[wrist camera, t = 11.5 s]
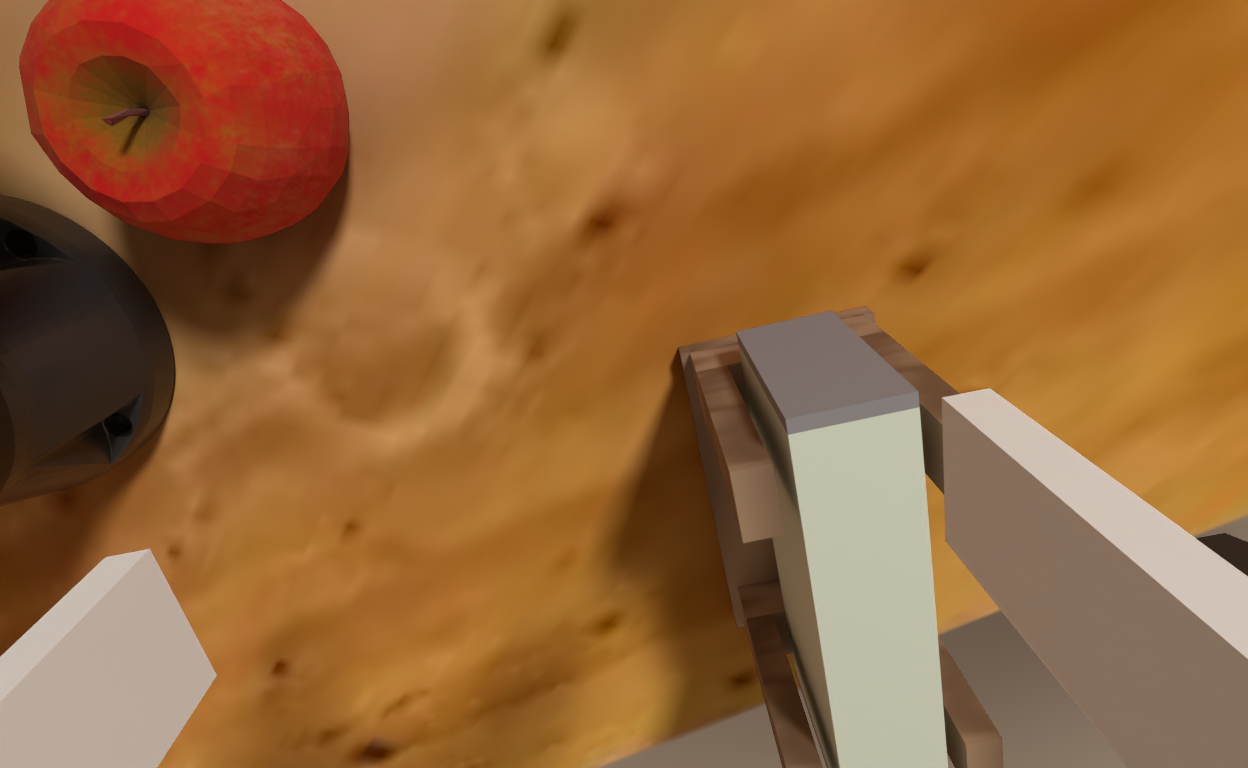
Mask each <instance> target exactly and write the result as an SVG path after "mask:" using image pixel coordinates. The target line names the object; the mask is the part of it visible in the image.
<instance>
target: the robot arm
mask: <svg viewBox="0 0 1248 768" xmlns="http://www.w3.org/2000/svg"><path fill="white" fill-rule="evenodd" d="M173 385H174V360H173V352H172V347H171V342H170V339H169V335H168V332H167V329H166V326H165V323H164V321H163V319H162V316H161V314H160V312H159V310H158V308H157V306H156V304H155V302H154V300H153V299H152V297H151V296H150V294H149V292H148V291H147V289H146V288H145V286H144V285H143V283H142V282H141V281H140V279H139V278H138V277H137V276H136V274H135V273H134V272H133V271H132V269H131V268H130V267H129V266H128V265H127V264H126V263H125V262H124V261H123V260H122V259H121V258H120V257H119V256H118V255H117V254H116V253H115V252H114V251H113V250H112V249H111V248H110V247H109V246H107V245H106V244H105V243H104V242H103V241H101V240H100V239H99V238H97V237H96V236H95V235H93V234H92V233H91V232H89V231H88V230H86V229H85V228H83V227H82V226H80V225H78V224H77V223H75V222H74V221H72V220H70V219H68V218H66V217H64V216H62V215H61V214H58V213H56V212H54V211H52V210H50V209H47V208H45V207H42V206H40V205H37V204H34V203H31V202H28V201H25V200H21V199H17V198H13V197H8V196H3V195H0V506H2V505H6V504H9V503H13V502H17V501H21V500H24V499H28V498H32V497H35V496H39V495H43V494H47V493H50V492H54V491H58V490H62V489H65V488H69V487H73V486H76V485H79V484H82V483H85V482H87V481H89V480H92V479H94V478H96V477H98V476H100V475H102V474H104V473H106V472H107V471H109V470H110V469H112V468H113V467H115V466H116V465H118V464H119V463H120V462H122V461H123V460H124V459H126V458H127V457H129V456H130V455H131V454H133V453H134V452H135V451H137V450H138V449H139V448H140V447H142V446H143V445H144V444H145V443H146V442H147V441H148V440H149V439H150V438H151V437H152V435H153V434H154V433H155V432H156V430H157V429H158V427H159V426H160V424H161V422H162V421H163V419H164V417H165V415H166V412H167V410H168V407H169V404H170V401H171V397H172V392H173ZM942 424H943V464H944V503H945V541H946V542H947V543H948V545H949V546H950V547H951V548H952V550H953V551H954V552H955V553H956V555H957V556H958V557H959V558H960V560H961V561H962V562H963V563H964V565H965V566H966V567H967V568H968V570H969V571H970V572H971V573H972V575H973V576H974V577H975V578H976V580H977V581H978V582H979V583H980V585H981V586H982V587H983V588H984V590H985V591H986V592H987V593H988V595H989V596H990V597H991V598H992V600H993V601H994V602H995V603H996V605H997V606H998V607H999V608H1000V610H1001V611H1002V612H1003V613H1004V615H1005V616H1006V617H1007V618H1008V619H1009V621H1010V622H1011V623H1012V625H1013V626H1014V627H1015V628H1016V630H1017V631H1018V632H1019V633H1020V635H1021V636H1022V637H1023V638H1024V640H1025V641H1026V642H1027V643H1028V644H1029V646H1030V647H1031V648H1032V650H1033V651H1034V652H1035V653H1036V655H1037V656H1038V657H1039V658H1040V660H1041V661H1042V662H1043V663H1044V665H1045V666H1046V667H1047V668H1048V670H1049V671H1050V672H1051V673H1052V675H1053V676H1054V677H1055V678H1056V680H1057V681H1058V682H1059V683H1060V685H1061V686H1062V687H1063V688H1064V690H1065V691H1066V692H1067V693H1068V694H1069V696H1070V697H1071V698H1072V699H1073V701H1074V702H1075V703H1076V705H1077V706H1078V707H1079V708H1080V710H1081V711H1082V712H1083V713H1084V715H1085V716H1086V717H1087V718H1088V719H1089V721H1090V722H1091V723H1092V724H1093V726H1094V727H1095V728H1096V729H1097V731H1098V732H1099V733H1100V735H1101V736H1102V737H1103V738H1104V740H1105V741H1106V742H1107V743H1108V745H1109V746H1110V747H1111V748H1112V749H1113V751H1114V752H1115V753H1116V754H1117V756H1118V757H1119V758H1120V760H1121V761H1122V762H1123V763H1124V765H1125V766H1126V767H1127V768H1248V542H1246V541H1243V540H1241V539H1238V538H1236V537H1233V536H1231V535H1228V534H1226V533H1223V534H1217V535H1212V536H1206V537H1201V538H1194V537H1193V536H1192V535H1190V534H1189V533H1188V532H1186V531H1185V530H1183V529H1182V528H1181V527H1179V526H1178V525H1177V524H1175V523H1174V522H1172V521H1171V520H1170V519H1168V518H1167V517H1166V516H1164V515H1163V514H1161V513H1160V512H1159V511H1157V510H1156V509H1155V508H1153V507H1152V506H1150V505H1149V504H1148V503H1146V502H1145V501H1144V500H1142V499H1141V498H1140V497H1138V496H1137V495H1135V494H1134V493H1133V492H1131V491H1130V490H1129V489H1127V488H1126V487H1124V486H1123V485H1122V484H1120V483H1119V482H1118V481H1116V480H1115V479H1113V478H1112V477H1111V476H1109V475H1108V474H1107V473H1105V472H1104V471H1102V470H1101V469H1100V468H1098V467H1097V466H1096V465H1094V464H1093V463H1092V462H1090V461H1089V460H1087V459H1086V458H1085V457H1083V456H1082V455H1081V454H1079V453H1078V452H1076V451H1075V450H1074V449H1072V448H1071V447H1070V446H1068V445H1067V444H1065V443H1064V442H1063V441H1061V440H1060V439H1059V438H1057V437H1056V436H1054V435H1053V434H1052V433H1050V432H1049V431H1048V430H1046V429H1045V428H1043V427H1042V426H1041V425H1039V424H1038V423H1037V422H1035V421H1034V420H1033V419H1031V418H1030V417H1028V416H1027V415H1026V414H1024V413H1023V412H1022V411H1020V410H1019V409H1017V408H1016V407H1015V406H1013V405H1012V404H1011V403H1009V402H1008V401H1006V400H1005V399H1004V398H1002V397H1001V396H1000V395H998V394H997V393H995V392H994V391H993V390H991V389H990V388H989V389H984V390H979V391H973V392H968V393H963V394H958V395H952V396H947V397H942ZM216 676H217V675H216V673H215V671H214V669H213V667H212V666H211V664H210V662H209V660H208V658H207V656H206V654H205V652H204V650H203V649H202V647H201V645H200V643H199V641H198V639H197V637H196V635H195V633H194V632H193V630H192V628H191V626H190V624H189V622H188V620H187V618H186V616H185V615H184V613H183V611H182V609H181V607H180V605H179V603H178V601H177V599H176V597H175V596H174V594H173V592H172V590H171V588H170V586H169V584H168V582H167V580H166V579H165V577H164V575H163V573H162V571H161V569H160V567H159V565H158V563H157V562H156V560H155V558H154V556H153V554H152V552H151V550H150V549H146V550H141V551H136V552H131V553H126V554H120V555H115V556H110V557H105V558H104V559H103V560H102V561H101V562H100V563H99V564H98V565H97V566H96V567H95V568H94V569H92V570H91V571H90V572H89V573H88V574H87V575H86V576H85V577H84V578H83V579H82V580H81V581H80V582H79V583H78V584H77V585H76V586H74V587H73V588H72V589H71V590H70V591H69V592H68V593H67V594H66V595H65V596H64V597H63V598H62V599H61V600H60V601H59V602H58V603H57V604H55V605H54V606H53V607H52V608H51V609H50V610H49V611H48V612H47V613H46V614H45V615H44V616H43V617H42V618H41V619H40V620H39V621H38V622H36V623H35V624H34V625H33V626H32V627H31V628H30V629H29V630H28V631H27V632H26V633H25V634H24V635H23V636H22V637H21V638H20V639H19V640H17V641H16V642H15V643H14V644H13V645H12V646H11V647H10V648H9V649H8V650H7V651H6V652H5V653H4V654H3V655H2V656H1V657H0V768H157V767H158V765H159V764H160V762H161V761H162V759H163V758H164V756H165V755H166V753H167V752H168V750H169V748H170V747H171V745H172V744H173V742H174V741H175V739H176V738H177V736H178V735H179V733H180V731H181V730H182V728H183V727H184V725H185V724H186V722H187V721H188V719H189V718H190V716H191V714H192V713H193V711H194V710H195V708H196V707H197V705H198V704H199V702H200V701H201V699H202V697H203V696H204V694H205V693H206V691H207V690H208V688H209V687H210V685H211V684H212V682H213V680H214V679H215V677H216Z"/></svg>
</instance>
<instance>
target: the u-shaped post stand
mask: <svg viewBox="0 0 1248 768" xmlns="http://www.w3.org/2000/svg"><path fill="white" fill-rule="evenodd" d="M834 314H835V315H837V316H838V317H839V318H840V319H841V320H842V321H843V322H844V323H845V324H846V325H847V326H848V327H850V328H851V329H852V330H853V331H854V332H855V333H856V334H857V335H858V336H859V337H860V338H861V339H862V340H864V341H865V342H866V343H867V344H868V345H869V346H870V347H871V348H872V349H873V350H874V351H875V352H877V353H878V354H879V355H880V356H881V357H882V358H883V359H884V360H885V361H886V362H887V363H888V364H889V365H891V366H892V367H893V368H894V369H895V370H896V371H897V372H898V373H899V374H900V375H901V376H902V377H904V378H905V379H906V380H907V381H908V382H909V383H910V384H911V385H912V386H913V387H914V388H915V389H916V390H918V394H919V406H920V419H921V431H922V444H923V457H924V469H925V473H926V474H927V475H928V477H929V478H930V479H931V480H932V481H933V482H934V483H935V485H936V486H937V487H938V488H939V489H940V490H941V492H942V493H943V494H944V464H943V424H942V397H947V396H952V395H958V394H959V393H958V392H957V391H956V390H955V389H953V388H952V387H951V386H950V385H948V384H947V383H946V382H945V381H944V380H942V379H941V378H940V377H939V376H938V375H936V374H935V373H934V372H933V371H931V370H930V369H929V368H928V367H927V366H925V365H924V364H923V363H922V362H921V361H919V360H918V359H917V358H916V357H915V356H913V355H912V354H911V353H910V352H908V351H907V350H906V349H905V348H904V347H902V346H901V345H900V344H899V343H898V342H896V341H895V340H894V339H893V338H891V337H890V336H889V335H888V334H887V333H885V332H884V331H883V330H882V329H881V328H879V327H878V326H877V325H876V324H875V320H874V312H872V311H871V310H870V309H868V308H867V307H866V306H865V307H861V308H856V309H852V310H847V311H843V312H838V313H834ZM679 353H680V358H681V363H682V368H683V372H684V377H685V382H686V387H687V392H688V396H689V401H690V406H691V411H692V416H693V420H694V425H695V430H696V435H697V440H698V444H699V449H700V454H701V459H702V464H703V468H704V473H705V478H706V483H707V488H708V492H709V497H710V502H711V507H712V512H713V517H714V521H715V526H716V531H717V536H718V541H719V545H720V550H721V555H722V560H723V565H724V569H725V574H726V579H727V584H728V589H729V593H730V598H731V603H732V608H733V613H734V617H735V621H736V625H737V628H742V627H746V631H747V635H748V638H749V642H750V646H751V650H752V654H753V657H754V661H755V665H756V669H757V672H758V676H759V680H760V684H761V688H762V691H763V695H764V699H765V703H766V707H767V710H768V714H769V718H770V722H771V725H772V729H773V733H774V736H775V741H776V744H777V748H778V752H779V756H780V759H781V763H782V767H783V768H823V767H822V764H821V761H820V758H819V755H818V752H817V749H816V746H815V743H814V740H813V737H812V733H811V730H810V728H809V724H808V721H807V718H806V715H805V712H804V709H803V706H802V703H801V699H800V696H799V693H798V690H797V687H796V684H795V681H794V678H793V675H792V672H791V669H790V666H789V662H788V659H787V656H786V654H790V653H792V648H791V642H790V636H789V631H788V625H787V619H786V614H785V608H784V602H783V597H782V591H781V585H780V579H779V574H778V568H777V562H776V557H775V551H774V545H773V539H772V537H777V536H782V535H784V532H783V526H782V520H781V514H780V508H779V502H778V496H777V490H776V484H775V478H774V472H773V466H772V462H771V460H770V458H769V456H768V453H767V451H766V449H765V447H764V445H763V443H762V440H761V438H760V436H759V434H758V432H757V429H756V427H755V425H754V423H753V421H752V419H751V414H750V408H749V402H748V397H747V391H746V385H745V380H744V374H743V368H742V362H741V357H740V351H739V345H738V340H737V335H733V336H729V337H724V338H720V339H715V340H711V341H706V342H702V343H697V344H693V345H688V346H683V347H679ZM938 646H939V659H940V671H941V684H942V697H943V709H944V722H945V734H946V747H947V753H948V755H949V757H950V759H951V761H952V763H953V765H954V767H955V768H1003V750H1002V737H1001V736H1000V734H999V732H998V731H997V729H996V728H995V726H994V725H993V723H992V721H991V720H990V718H989V716H988V715H987V714H986V711H985V710H984V708H983V707H982V705H981V703H980V702H979V700H978V699H977V697H976V695H975V694H974V692H973V691H972V689H971V687H970V686H969V685H968V682H967V681H966V679H965V678H964V676H963V674H962V673H961V671H960V670H959V668H958V667H957V665H956V663H955V662H954V660H953V658H952V657H951V655H950V654H949V652H948V651H947V649H946V647H945V646H944V644H943V642H942V641H941V639H940V637H939V636H938Z"/></svg>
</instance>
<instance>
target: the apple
mask: <svg viewBox="0 0 1248 768" xmlns="http://www.w3.org/2000/svg"><path fill="white" fill-rule="evenodd" d="M19 68H20V74H21V79H22V85H23V91H24V96H25V102H26V107H27V113H28V118H29V124H30V129H31V134H32V135H33V137H34V138H35V139H36V141H37V142H38V143H39V145H40V146H41V148H42V149H43V150H44V152H45V153H46V154H47V156H48V157H49V159H50V160H51V161H52V163H53V164H54V165H55V167H56V168H57V169H58V171H59V172H60V173H61V174H62V175H63V176H64V177H65V178H66V179H67V180H68V181H69V182H71V183H72V184H73V185H74V186H75V187H76V188H77V189H78V190H79V191H80V192H81V193H82V194H83V195H84V196H85V197H87V198H88V199H89V200H91V201H92V202H94V203H96V204H97V205H99V206H100V207H102V208H103V209H105V210H106V211H108V212H110V213H111V214H113V215H114V216H116V217H117V218H119V219H120V220H122V221H124V222H125V223H127V224H130V225H132V226H135V227H138V228H141V229H144V230H147V231H149V232H152V233H155V234H158V235H161V236H164V237H166V238H169V239H174V240H182V241H191V242H199V243H208V244H234V243H238V242H243V241H247V240H252V239H257V238H261V237H265V236H267V235H270V234H272V233H275V232H277V231H279V230H282V229H284V228H287V227H289V226H292V225H294V224H296V223H298V222H299V221H301V220H302V219H303V218H305V217H306V216H308V215H309V214H310V213H312V212H313V211H314V210H316V209H317V208H318V207H319V205H320V204H321V203H322V201H323V200H324V199H325V197H326V196H327V195H328V193H329V192H330V190H331V189H332V188H333V186H334V185H335V184H336V182H337V181H338V180H339V178H340V177H341V175H342V174H343V171H344V167H345V164H346V160H347V157H348V154H349V111H348V106H347V100H346V95H345V90H344V85H343V80H342V75H341V72H340V70H339V68H338V66H337V64H336V62H335V60H334V58H333V56H332V54H331V52H330V50H329V48H328V46H327V44H326V43H325V42H324V41H323V39H322V38H321V37H320V36H319V34H318V33H317V32H316V31H315V30H314V28H313V27H312V26H311V25H310V24H309V23H308V21H307V20H306V19H305V18H304V17H303V16H302V15H301V14H299V13H298V12H297V11H295V10H294V9H293V8H291V7H290V6H288V5H287V4H286V3H284V2H283V1H282V0H49V1H48V2H47V3H46V4H45V6H44V7H43V8H42V10H41V11H40V12H39V13H38V15H37V16H36V17H35V19H34V20H33V21H32V23H31V25H30V28H29V31H28V34H27V37H26V40H25V43H24V46H23V49H22V52H21V55H20V62H19Z"/></svg>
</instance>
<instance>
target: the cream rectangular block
mask: <svg viewBox="0 0 1248 768" xmlns="http://www.w3.org/2000/svg"><path fill="white" fill-rule="evenodd" d="M736 334H737V340H738V345H739V351H740V357H741V362H742V368H743V374H744V380H745V385H746V391H747V397H748V402H749V408H750V414H751V419H752V421H753V423H754V425H755V427H756V429H757V432H758V434H759V436H760V438H761V440H762V443H763V445H764V447H765V449H766V451H767V453H768V456H769V458H770V460H771V462H772V466H773V472H774V478H775V484H776V490H777V496H778V502H779V508H780V514H781V520H782V526H783V532H784V535H782V536H777V537H772V539H773V545H774V551H775V557H776V562H777V568H778V574H779V579H780V585H781V591H782V597H783V602H784V608H785V614H786V619H787V625H788V631H789V636H790V642H791V648H792V654H793V659H794V665H795V671H796V676H797V679H798V682H799V685H800V688H801V691H802V694H803V697H804V700H805V703H806V706H807V709H808V712H809V715H810V718H811V721H812V724H813V727H814V730H815V733H816V736H817V739H818V742H819V745H820V748H821V751H822V754H823V757H824V760H825V763H826V766H827V768H948V761H947V747H946V734H945V722H944V709H943V697H942V684H941V671H940V659H939V646H938V633H937V621H936V608H935V596H934V583H933V570H932V558H931V545H930V532H929V520H928V507H927V495H926V482H925V469H924V457H923V444H922V431H921V419H920V406H919V394H918V390H916V389H915V388H914V387H913V386H912V385H911V384H910V383H909V382H908V381H907V380H906V379H905V378H904V377H902V376H901V375H900V374H899V373H898V372H897V371H896V370H895V369H894V368H893V367H892V366H891V365H889V364H888V363H887V362H886V361H885V360H884V359H883V358H882V357H881V356H880V355H879V354H878V353H877V352H875V351H874V350H873V349H872V348H871V347H870V346H869V345H868V344H867V343H866V342H865V341H864V340H862V339H861V338H860V337H859V336H858V335H857V334H856V333H855V332H854V331H853V330H852V329H851V328H850V327H848V326H847V325H846V324H845V323H844V322H843V321H842V320H841V319H840V318H839V317H838V316H837V315H835V314H834V313H833V312H832V311H828V312H823V313H819V314H814V315H809V316H805V317H800V318H796V319H791V320H787V321H782V322H778V323H773V324H769V325H764V326H760V327H755V328H750V329H746V330H741V331H737V332H736Z"/></svg>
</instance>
